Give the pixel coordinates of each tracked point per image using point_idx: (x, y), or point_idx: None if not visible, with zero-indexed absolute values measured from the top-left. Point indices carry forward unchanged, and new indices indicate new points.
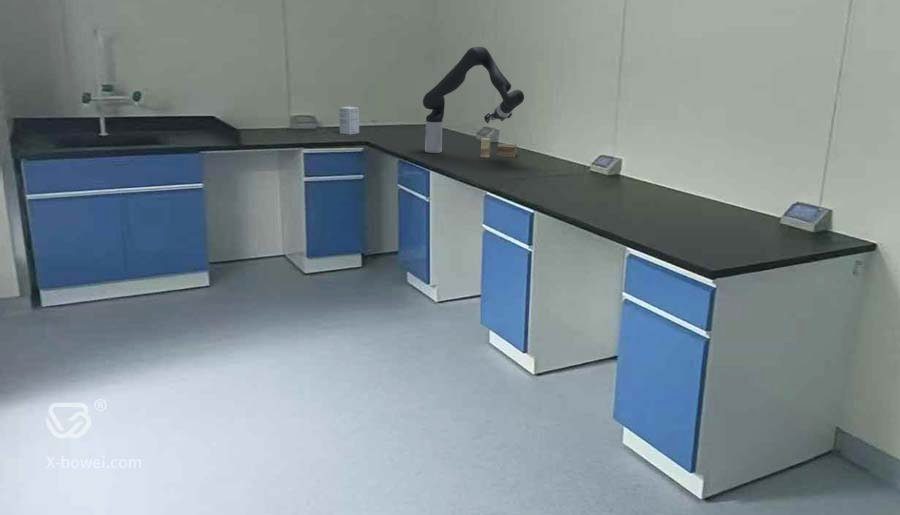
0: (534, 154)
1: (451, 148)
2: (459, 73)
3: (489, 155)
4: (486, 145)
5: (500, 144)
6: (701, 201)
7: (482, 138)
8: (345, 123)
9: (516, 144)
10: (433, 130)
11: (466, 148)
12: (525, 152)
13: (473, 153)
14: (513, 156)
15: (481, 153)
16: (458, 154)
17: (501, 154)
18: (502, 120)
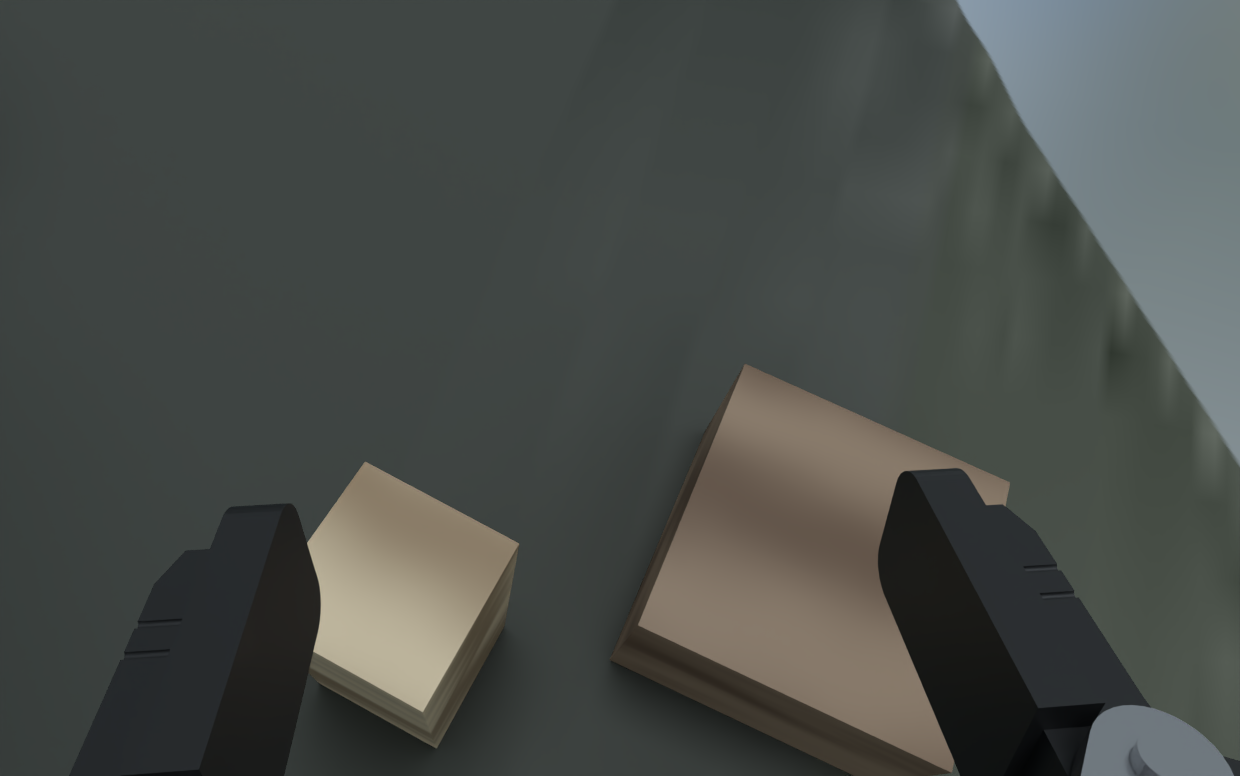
0: (1175, 557)
1: (234, 9)
2: None
3: (481, 664)
4: (380, 701)
5: (745, 448)
6: None
7: (324, 539)
8: None
9: (1006, 485)
10: None
11: (420, 43)
12: (1071, 398)
13: (353, 358)
14: (855, 771)
15: (321, 679)
16: (79, 399)
17: (681, 684)
18: (920, 667)
